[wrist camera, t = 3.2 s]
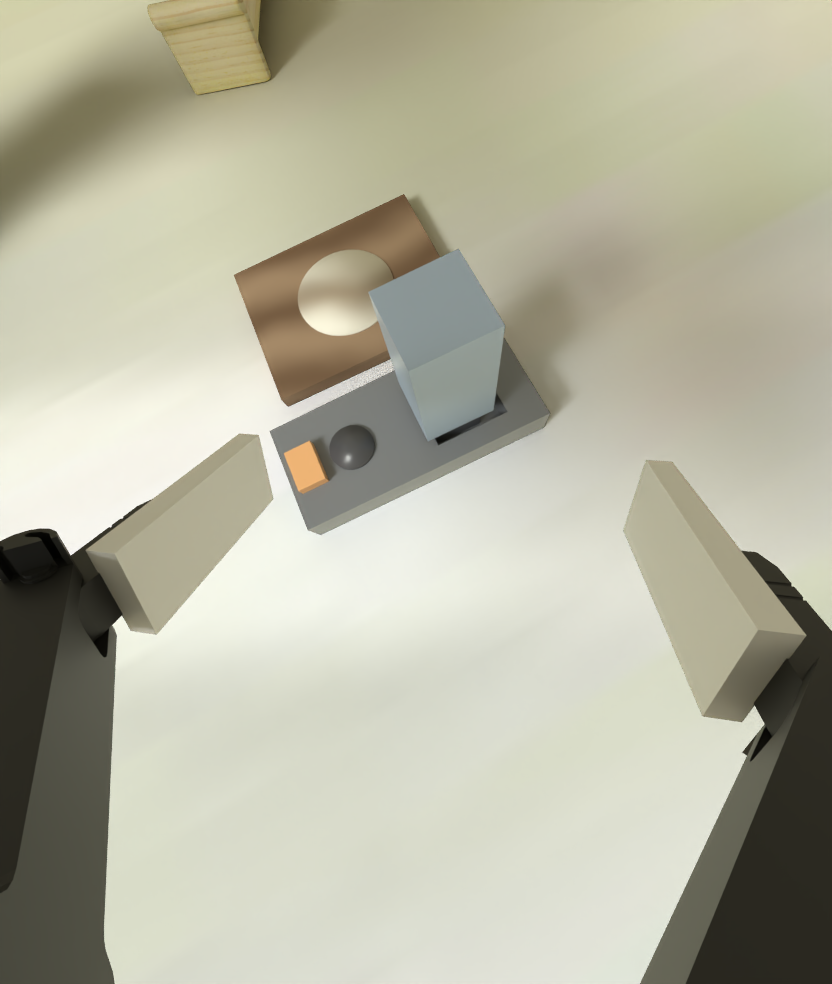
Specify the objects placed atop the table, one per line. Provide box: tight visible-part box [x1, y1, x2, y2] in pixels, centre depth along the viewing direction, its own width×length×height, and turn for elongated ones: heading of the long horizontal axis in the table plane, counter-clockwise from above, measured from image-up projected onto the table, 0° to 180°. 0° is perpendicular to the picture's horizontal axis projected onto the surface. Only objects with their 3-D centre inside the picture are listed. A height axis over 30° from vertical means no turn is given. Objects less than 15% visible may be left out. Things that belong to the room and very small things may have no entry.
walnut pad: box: [234, 194, 440, 407], centre depth 34 cm, size 13×16×1 cm
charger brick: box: [368, 249, 505, 443], centre depth 25 cm, size 5×5×12 cm
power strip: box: [270, 337, 550, 535], centre depth 29 cm, size 18×8×4 cm, turn 115°
